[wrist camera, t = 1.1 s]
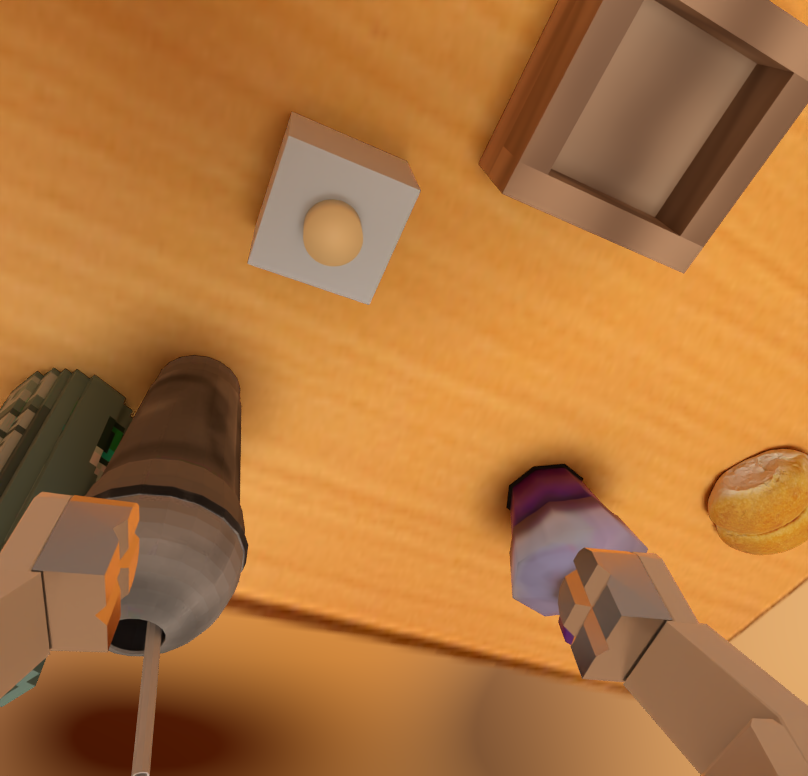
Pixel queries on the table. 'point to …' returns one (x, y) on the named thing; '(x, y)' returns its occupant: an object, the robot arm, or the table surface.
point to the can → (54, 449)
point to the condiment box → (650, 117)
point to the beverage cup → (178, 518)
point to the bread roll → (763, 503)
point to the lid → (332, 211)
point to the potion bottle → (557, 534)
